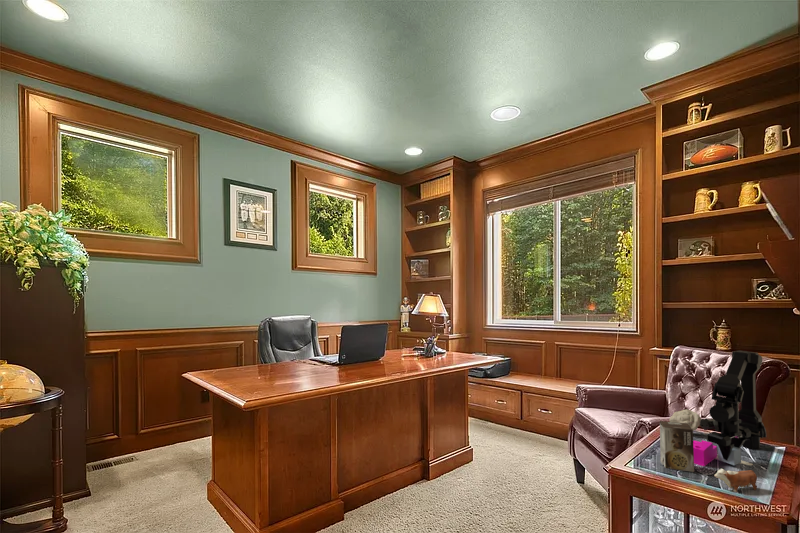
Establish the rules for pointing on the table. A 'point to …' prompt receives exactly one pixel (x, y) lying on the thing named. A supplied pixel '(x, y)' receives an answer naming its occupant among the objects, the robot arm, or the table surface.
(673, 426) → the beige tall box
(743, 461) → the letter
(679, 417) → the fossil replica
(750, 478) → the bull figurine
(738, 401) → the robot arm
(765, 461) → the table surface
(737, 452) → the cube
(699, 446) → the toy block
